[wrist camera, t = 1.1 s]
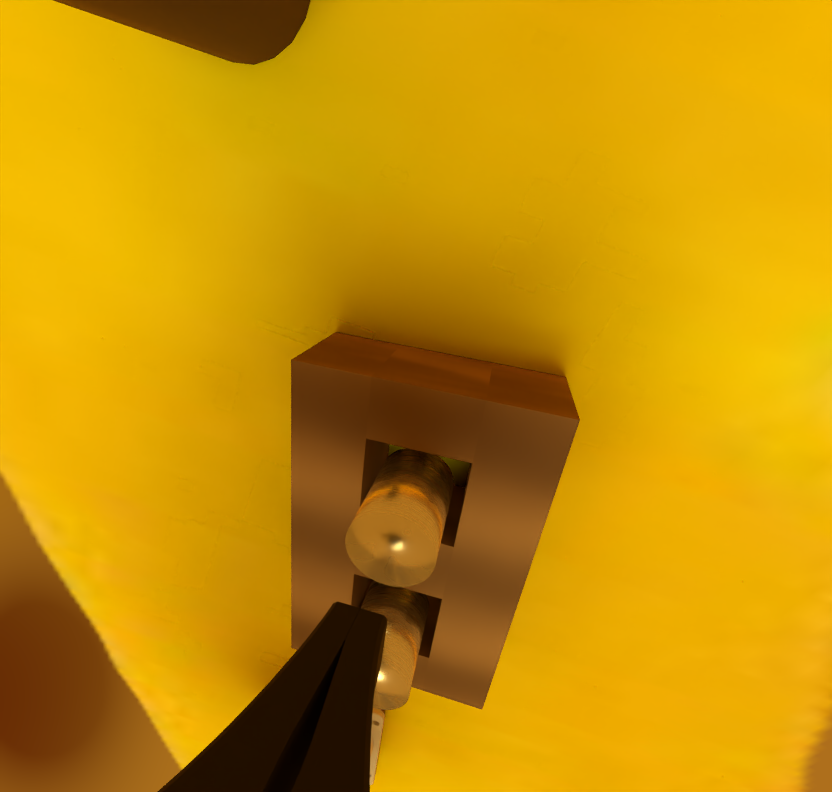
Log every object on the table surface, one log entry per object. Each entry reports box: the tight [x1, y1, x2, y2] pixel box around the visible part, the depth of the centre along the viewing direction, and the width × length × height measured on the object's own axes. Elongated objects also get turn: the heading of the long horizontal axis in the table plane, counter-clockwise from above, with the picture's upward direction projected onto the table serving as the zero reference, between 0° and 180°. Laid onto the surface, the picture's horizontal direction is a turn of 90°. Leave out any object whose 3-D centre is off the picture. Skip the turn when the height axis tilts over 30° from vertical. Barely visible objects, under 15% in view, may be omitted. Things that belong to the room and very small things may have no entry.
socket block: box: [291, 332, 580, 709], centre depth 19 cm, size 16×10×4 cm, turn 172°
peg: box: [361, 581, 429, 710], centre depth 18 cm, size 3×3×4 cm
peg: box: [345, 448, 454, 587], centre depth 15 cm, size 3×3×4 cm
